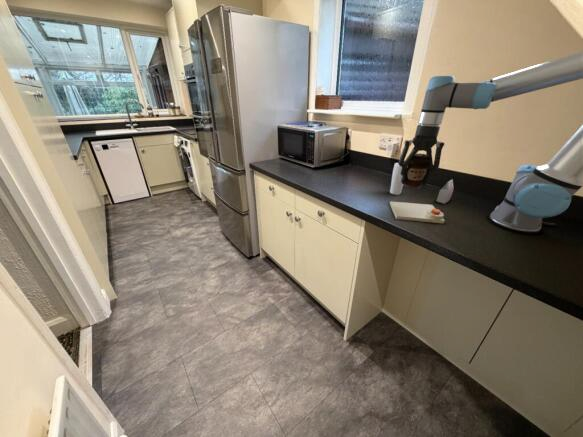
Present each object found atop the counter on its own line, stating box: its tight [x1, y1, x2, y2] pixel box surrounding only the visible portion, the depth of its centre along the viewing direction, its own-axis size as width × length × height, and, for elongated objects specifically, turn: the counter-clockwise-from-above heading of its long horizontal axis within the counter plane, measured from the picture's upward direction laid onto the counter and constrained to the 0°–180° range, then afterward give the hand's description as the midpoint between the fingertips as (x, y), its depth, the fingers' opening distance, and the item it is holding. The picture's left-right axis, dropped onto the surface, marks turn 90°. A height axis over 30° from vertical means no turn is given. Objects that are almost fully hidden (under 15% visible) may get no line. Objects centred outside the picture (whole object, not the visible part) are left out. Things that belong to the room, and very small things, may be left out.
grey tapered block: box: [436, 179, 455, 204], centre depth 109 cm, size 4×7×10 cm, turn 131°
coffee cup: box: [403, 152, 431, 189], centre depth 94 cm, size 9×8×13 cm
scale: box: [389, 201, 446, 224], centre depth 99 cm, size 18×15×3 cm
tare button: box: [431, 208, 441, 215], centre depth 93 cm, size 3×3×2 cm
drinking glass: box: [389, 162, 405, 196], centre depth 116 cm, size 7×7×15 cm
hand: (412, 183), depth 97 cm, fingers closed on coffee cup, 7 cm apart
